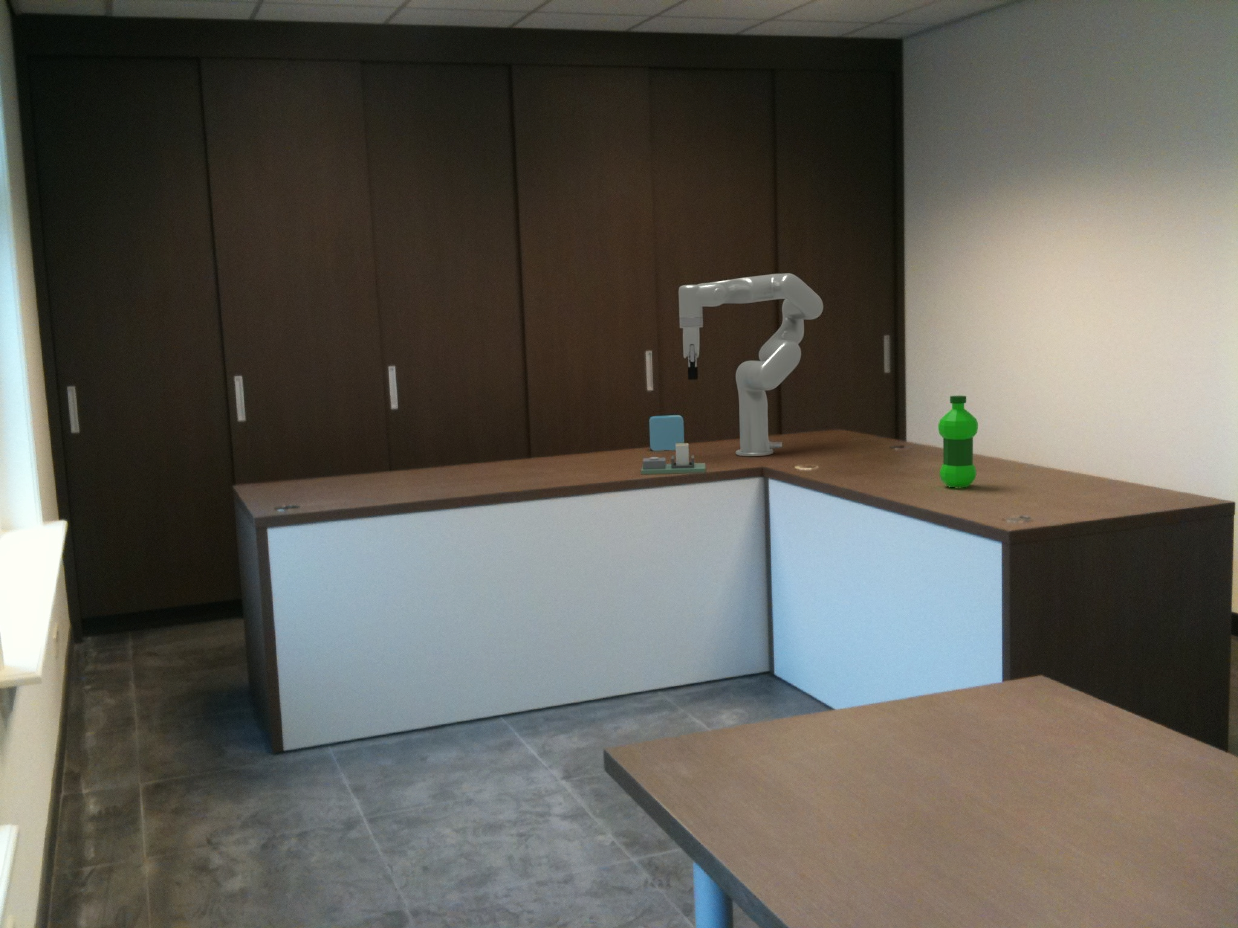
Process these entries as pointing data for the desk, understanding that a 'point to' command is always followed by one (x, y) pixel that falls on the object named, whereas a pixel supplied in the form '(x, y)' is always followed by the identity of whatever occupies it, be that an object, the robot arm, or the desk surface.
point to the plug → (682, 454)
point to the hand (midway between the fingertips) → (693, 379)
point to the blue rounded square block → (666, 432)
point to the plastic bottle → (958, 444)
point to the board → (670, 466)
